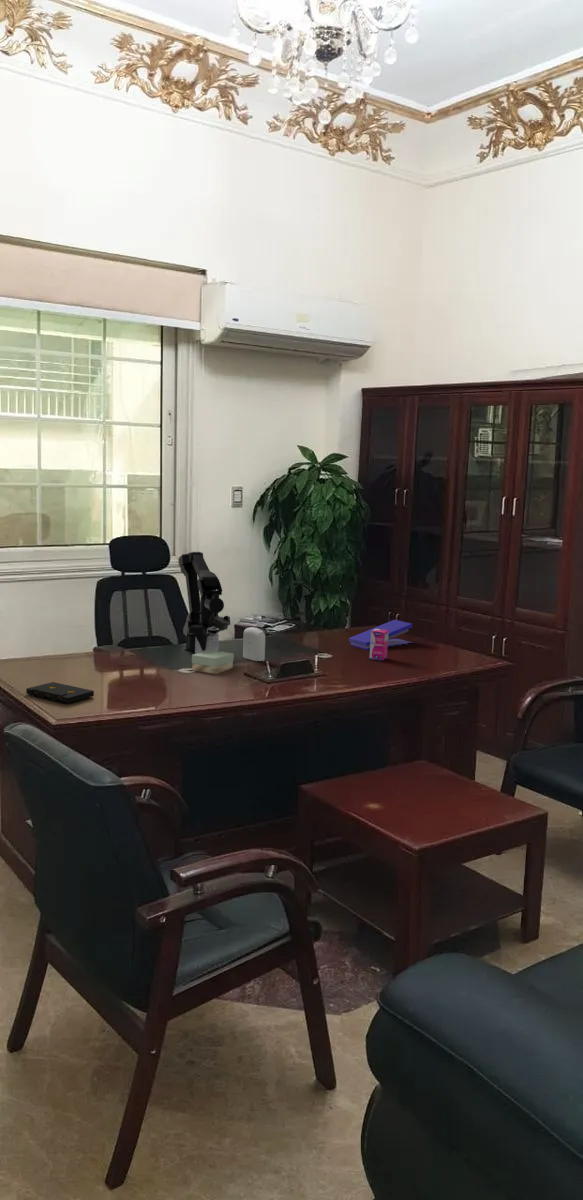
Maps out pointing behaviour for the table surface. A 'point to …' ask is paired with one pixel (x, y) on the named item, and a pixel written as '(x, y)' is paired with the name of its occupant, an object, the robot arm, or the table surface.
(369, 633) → the stapler
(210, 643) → the medicine box
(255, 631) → the photo printer
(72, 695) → the cassette tape
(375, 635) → the supplement box
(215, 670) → the tower base block
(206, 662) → the tower top block
